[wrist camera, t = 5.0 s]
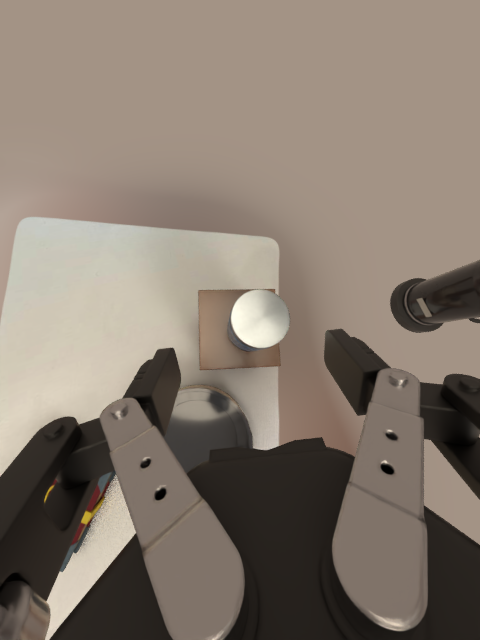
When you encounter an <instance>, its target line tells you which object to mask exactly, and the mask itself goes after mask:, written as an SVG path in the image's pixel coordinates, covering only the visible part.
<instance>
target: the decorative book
mask: <svg viewBox="0 0 480 640" xmlns="http://www.w3.org/2000/svg"><path fill="white" fill-rule="evenodd" d="M115 474H116V471H113V472H110V473H108V474H105V475H103V476H101V477H100V479H99V482H98V484H97V486H96V488H95V491H94V493H93V495H92V498H91V500H90V502H89V505H88V507H87V509H86V511H85V514H84V516H83V518H82V521H81V523H80V525H79V528H78V530H77V532H76V534H75V537H74V539H73V541H72V544H71V546H70V548H69V551H68V553H67V555H66V558H65V560H64V562H63V564H62V567H61V569H60V571H61V572H63V571H64V569H65V568H66V566H67V564H68V562H69V560H70V558H71V556H72V554H73V552H74V553H77V552H78V550H79V548H80V546H81V544H82V542H83V540H84V538H85V536H86V534H87V532H88V529H89V527H90V523H91V521H92V519H93V517H94V515H95V513H96V512H97V511H98V509H99V508H100V507H101V505H102V503H103V501H104V499H105V497H103V496H104V494H105V492H106V490H107V488H108V486H109V484H110V482H111V481H112V480H113V478H114V476H115ZM56 482H57V480H56V479H55V480H54V482H53V483H52V485H51V487H50V488H49V490H48V492H47V494H46V496H45V500H46V499H47V497H48V495H49V494H50V492H51V490H52V489H53V487H54V485H55V483H56ZM45 500H44V502H45Z"/></svg>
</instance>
